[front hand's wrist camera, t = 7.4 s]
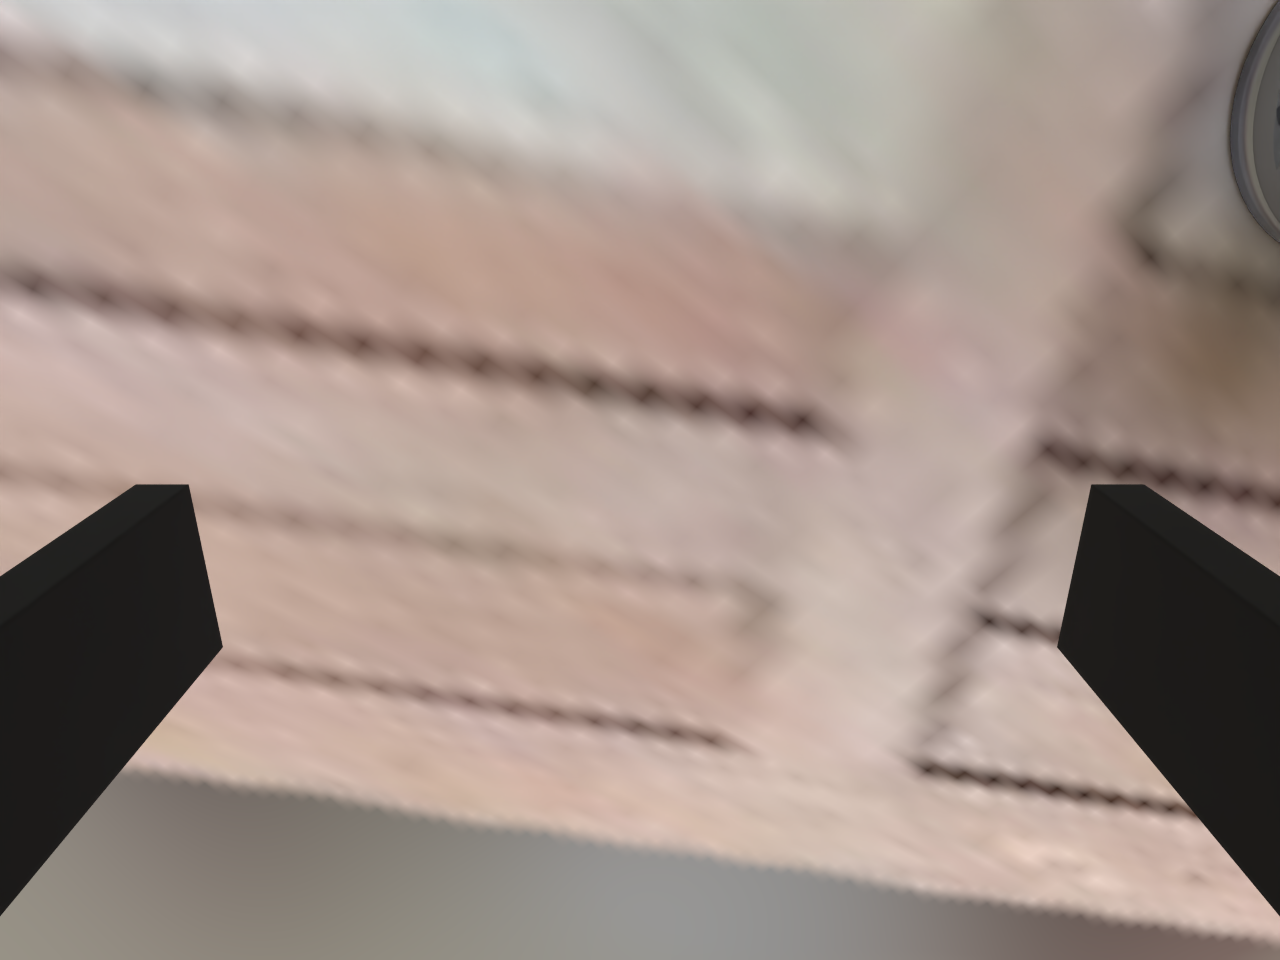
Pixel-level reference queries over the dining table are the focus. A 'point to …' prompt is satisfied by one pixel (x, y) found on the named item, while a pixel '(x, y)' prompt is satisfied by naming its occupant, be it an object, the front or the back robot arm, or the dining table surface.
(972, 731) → the dining table surface
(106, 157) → the dining table surface
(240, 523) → the dining table surface
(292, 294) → the dining table surface
